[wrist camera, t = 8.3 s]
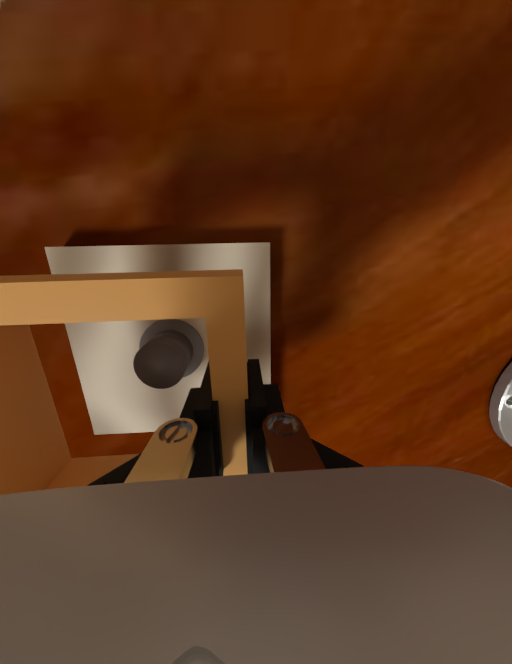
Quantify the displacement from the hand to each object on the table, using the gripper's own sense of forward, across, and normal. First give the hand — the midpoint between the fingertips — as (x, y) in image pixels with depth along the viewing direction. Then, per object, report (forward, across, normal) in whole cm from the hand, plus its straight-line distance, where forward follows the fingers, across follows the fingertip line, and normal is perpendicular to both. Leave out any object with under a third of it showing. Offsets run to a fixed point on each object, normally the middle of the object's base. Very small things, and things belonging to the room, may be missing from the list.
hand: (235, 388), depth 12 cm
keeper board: (+8, +5, 0) cm, 9 cm away
